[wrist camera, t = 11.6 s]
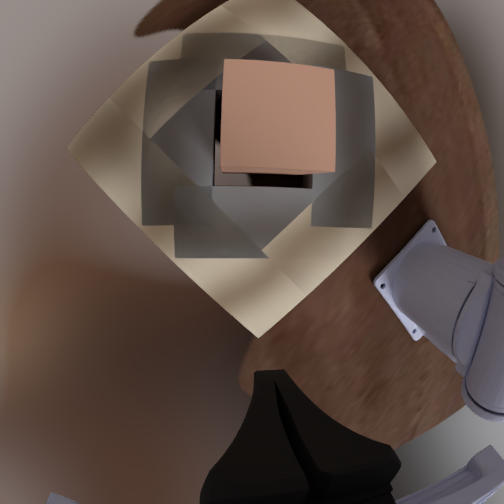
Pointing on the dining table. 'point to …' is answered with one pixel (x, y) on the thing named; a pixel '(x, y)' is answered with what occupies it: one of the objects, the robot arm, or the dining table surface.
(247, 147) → the peg
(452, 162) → the dining table surface
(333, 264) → the socket board
